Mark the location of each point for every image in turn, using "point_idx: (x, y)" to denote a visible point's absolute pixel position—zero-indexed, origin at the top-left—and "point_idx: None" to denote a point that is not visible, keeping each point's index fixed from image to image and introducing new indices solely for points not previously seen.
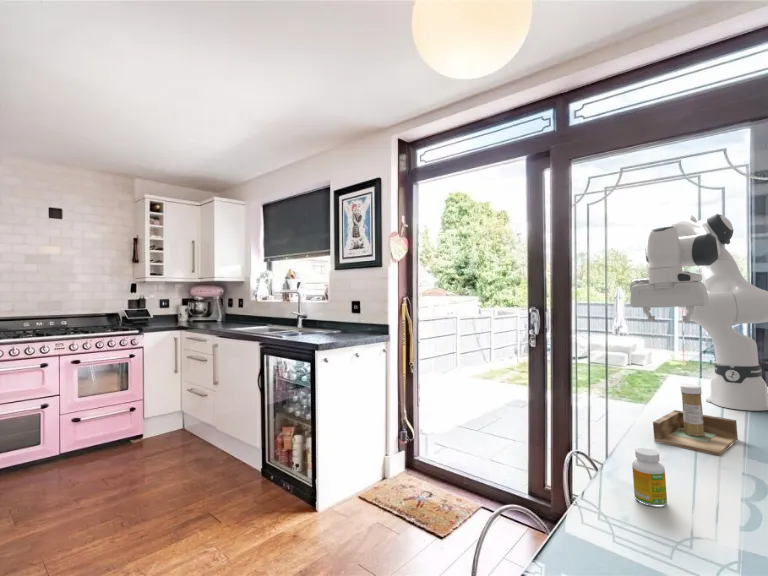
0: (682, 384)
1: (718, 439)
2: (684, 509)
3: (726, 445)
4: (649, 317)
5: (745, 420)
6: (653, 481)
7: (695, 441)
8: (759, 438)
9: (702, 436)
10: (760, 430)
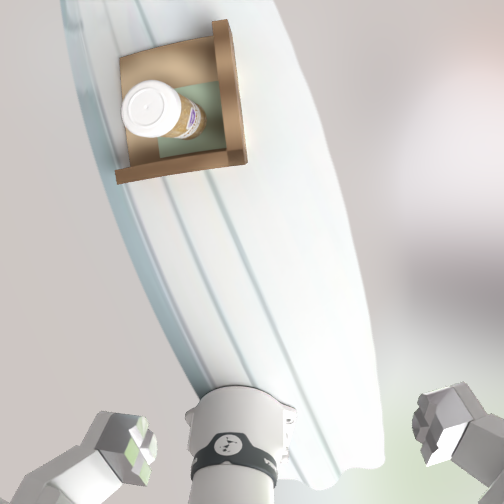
0: (171, 105)
1: None
2: None
3: None
4: (465, 407)
5: (185, 327)
6: None
7: (167, 78)
8: (118, 220)
9: None
10: (139, 277)
